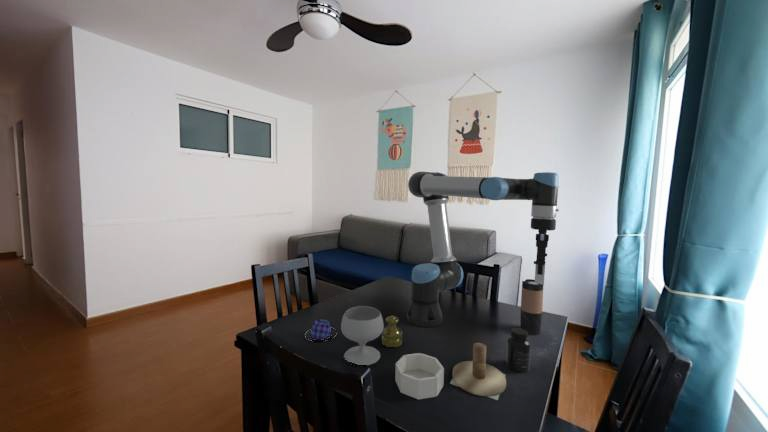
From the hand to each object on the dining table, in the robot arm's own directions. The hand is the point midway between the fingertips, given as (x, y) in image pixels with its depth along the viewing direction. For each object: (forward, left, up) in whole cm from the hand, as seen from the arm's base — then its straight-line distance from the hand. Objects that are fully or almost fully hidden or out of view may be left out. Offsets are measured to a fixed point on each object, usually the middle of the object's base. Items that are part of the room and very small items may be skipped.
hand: (539, 278), depth 103 cm
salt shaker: (-45, -25, -25) cm, 57 cm away
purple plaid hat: (-71, -34, -26) cm, 83 cm away
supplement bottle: (-4, -17, -25) cm, 31 cm away
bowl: (-27, -41, -25) cm, 55 cm away
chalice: (-49, -38, -25) cm, 67 cm away
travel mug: (-3, +13, -25) cm, 29 cm away
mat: (-13, -30, -25) cm, 41 cm away
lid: (-13, -30, -25) cm, 41 cm away
